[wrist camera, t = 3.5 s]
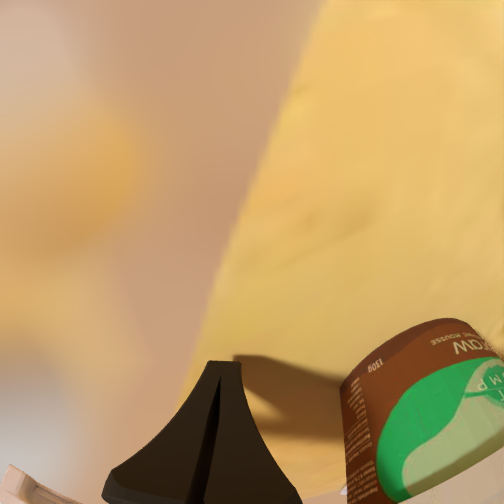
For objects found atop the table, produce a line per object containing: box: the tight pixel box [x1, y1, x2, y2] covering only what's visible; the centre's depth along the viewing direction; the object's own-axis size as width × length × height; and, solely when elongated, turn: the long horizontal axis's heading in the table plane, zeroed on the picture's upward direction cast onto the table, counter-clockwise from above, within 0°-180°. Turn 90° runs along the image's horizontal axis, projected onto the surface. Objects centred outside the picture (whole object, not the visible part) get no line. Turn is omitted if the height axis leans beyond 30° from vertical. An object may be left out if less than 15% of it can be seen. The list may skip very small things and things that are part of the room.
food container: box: [340, 318, 504, 504], centre depth 8 cm, size 12×6×10 cm, turn 85°
